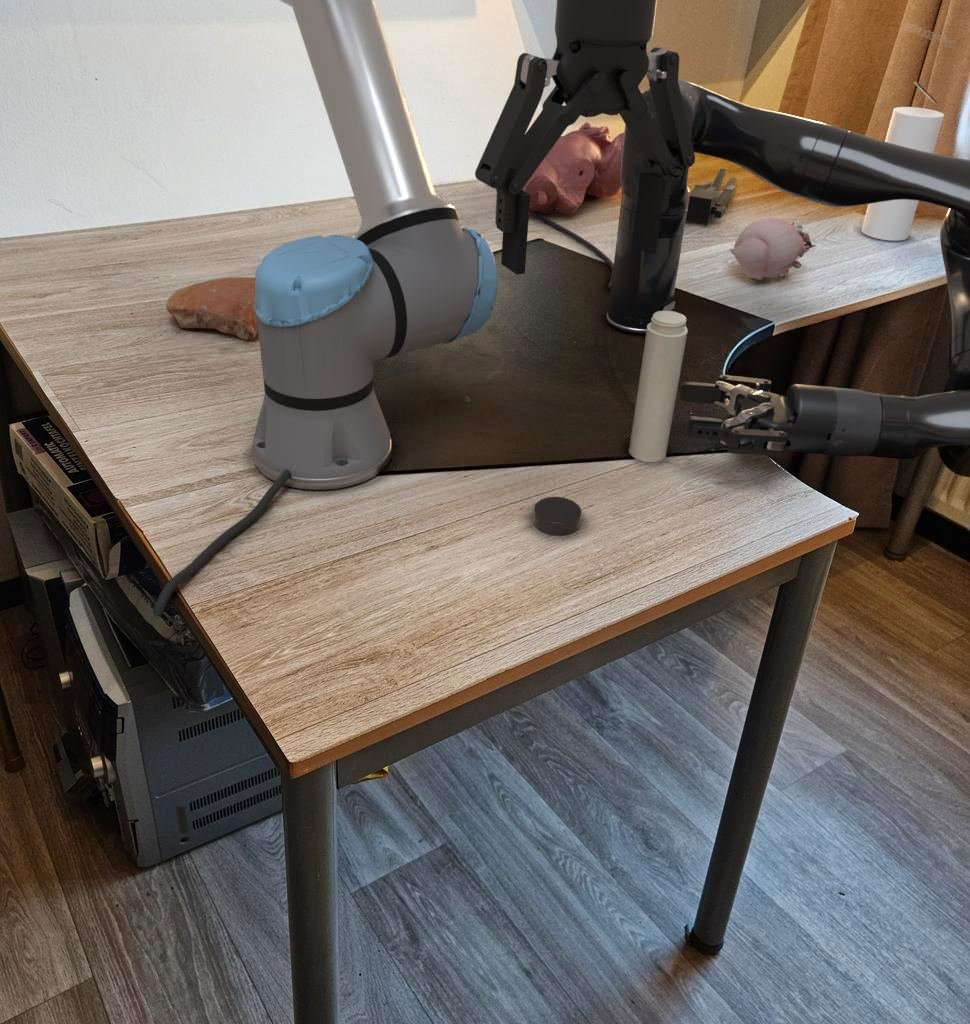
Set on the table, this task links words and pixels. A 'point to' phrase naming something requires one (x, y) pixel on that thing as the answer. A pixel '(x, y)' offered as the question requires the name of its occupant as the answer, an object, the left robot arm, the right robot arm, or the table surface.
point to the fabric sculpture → (577, 170)
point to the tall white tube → (911, 132)
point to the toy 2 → (770, 247)
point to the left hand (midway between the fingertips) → (580, 259)
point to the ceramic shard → (217, 306)
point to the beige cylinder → (658, 386)
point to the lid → (557, 516)
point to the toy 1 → (709, 199)
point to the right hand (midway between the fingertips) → (683, 408)
